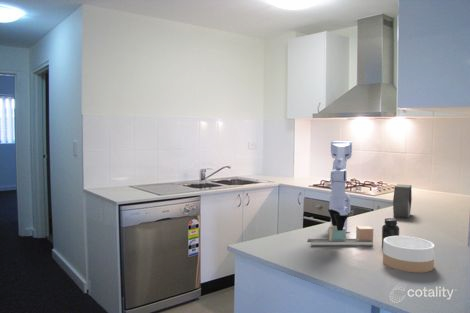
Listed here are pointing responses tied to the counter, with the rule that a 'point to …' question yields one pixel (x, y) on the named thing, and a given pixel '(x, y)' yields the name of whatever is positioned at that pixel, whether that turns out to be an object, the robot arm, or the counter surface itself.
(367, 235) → the faced tea box
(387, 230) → the supplement bottle
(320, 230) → the counter surface
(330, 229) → the box
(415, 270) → the bowl
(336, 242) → the pair of grey rails
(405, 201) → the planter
